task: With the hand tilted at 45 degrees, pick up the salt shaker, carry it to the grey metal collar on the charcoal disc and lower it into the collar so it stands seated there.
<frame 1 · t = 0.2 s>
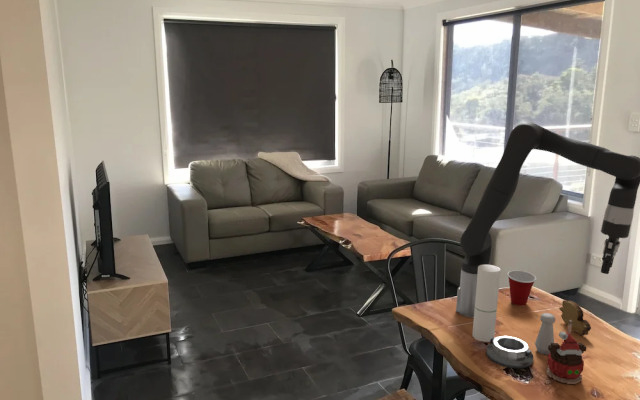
hand: (606, 269, 160), 28 cm above the table, tool pointing down, fingers open, 8 cm apart
plastic cup: (518, 303, 203), on the table
wooden carving: (573, 329, 182), on the table
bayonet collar: (509, 356, 162), on the table
cake: (563, 377, 151), on the table
salt shaker: (543, 352, 166), on the table
cylindrical container: (483, 337, 175), on the table
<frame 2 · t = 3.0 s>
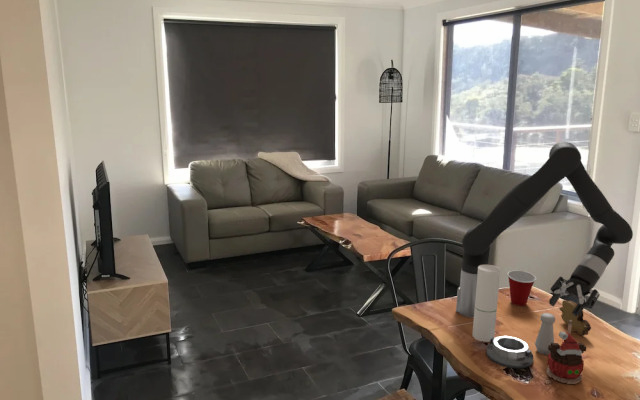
hand: (562, 309, 166), 13 cm above the table, tool tilted 45°, fingers open, 8 cm apart
nothing on the table moved.
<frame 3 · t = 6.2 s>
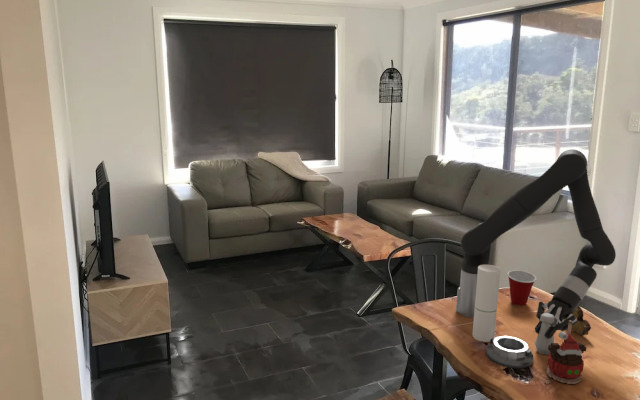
hand: (541, 334, 163), 6 cm above the table, tool tilted 45°, fingers closed on salt shaker, 3 cm apart
salt shaker: (543, 352, 166), on the table, touching gripper
everything else where it was.
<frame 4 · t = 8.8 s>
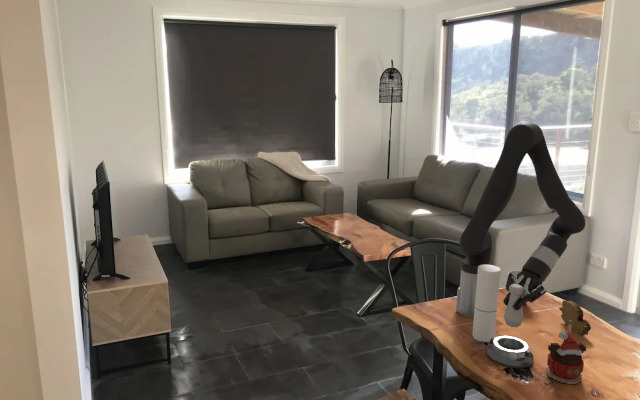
hand: (510, 306, 158), 18 cm above the table, tool tilted 45°, fingers closed on salt shaker, 3 cm apart
salt shaker: (512, 325, 160), point 11 cm above the table, touching gripper
everything else where it was.
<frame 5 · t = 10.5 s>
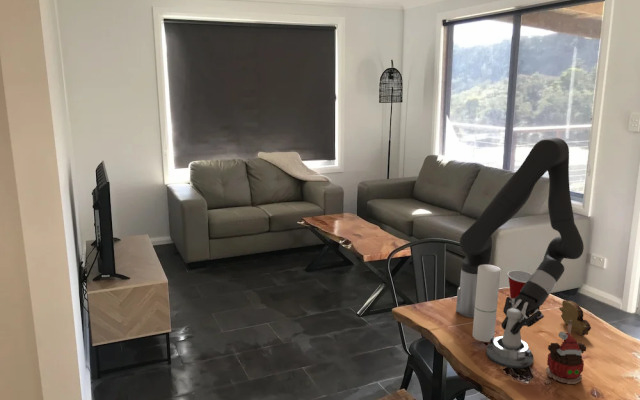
hand: (507, 330, 159), 10 cm above the table, tool tilted 45°, fingers closed on salt shaker, 3 cm apart
salt shaker: (510, 348, 162), point 3 cm above the table, touching gripper
everything else where it was.
when the fingers open (9 cm above the table, at t = 11.7 s): salt shaker moves 1 cm, resting on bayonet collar.
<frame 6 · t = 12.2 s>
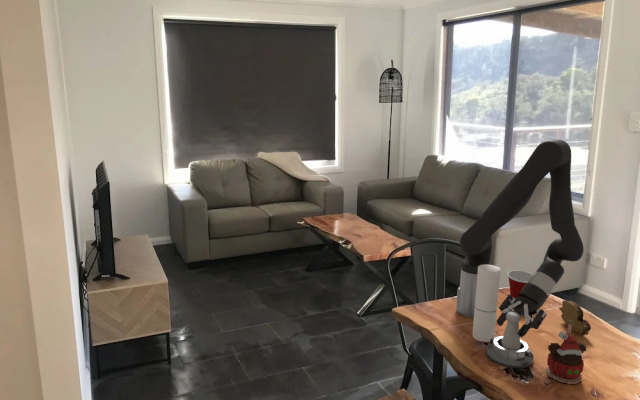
hand: (508, 330, 160), 10 cm above the table, tool tilted 45°, fingers open, 8 cm apart
salt shaker: (510, 351, 163), point 1 cm above the table, touching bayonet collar
everything else where it was.
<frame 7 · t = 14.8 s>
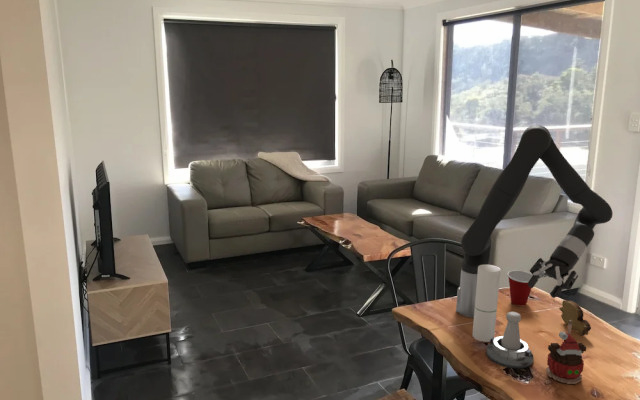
hand: (540, 291, 164), 20 cm above the table, tool tilted 45°, fingers open, 8 cm apart
nothing on the table moved.
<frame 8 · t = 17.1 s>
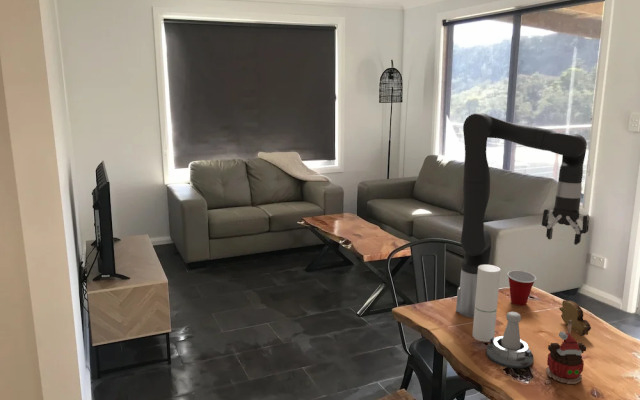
hand: (562, 241, 173), 33 cm above the table, tool pointing down, fingers open, 8 cm apart
nothing on the table moved.
at the end: salt shaker 0.9 cm off-centre on the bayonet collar, point 1.3 cm above the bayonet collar's base; salt shaker tilted 0°; the gripper is holding nothing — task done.
